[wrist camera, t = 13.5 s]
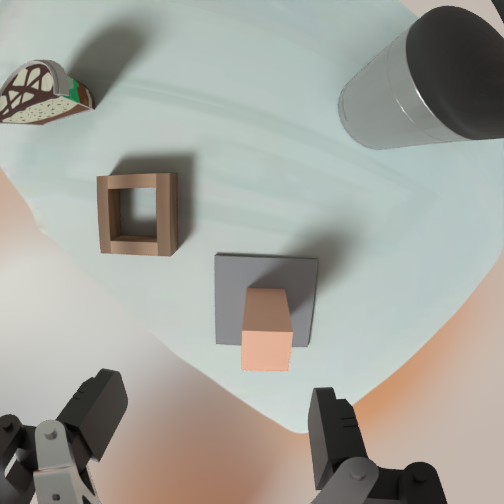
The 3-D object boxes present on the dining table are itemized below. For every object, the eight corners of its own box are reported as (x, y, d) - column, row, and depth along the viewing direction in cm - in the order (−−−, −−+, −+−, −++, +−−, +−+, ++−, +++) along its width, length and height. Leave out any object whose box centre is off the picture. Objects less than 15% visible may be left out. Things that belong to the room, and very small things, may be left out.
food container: (106, 64, 28) (64, 40, 19) (104, 107, 30) (57, 92, 20) (38, 89, 29) (-7, 78, 19) (36, 128, 30) (-13, 124, 21)
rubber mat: (317, 258, 34) (318, 260, 34) (307, 345, 38) (307, 347, 37) (215, 255, 35) (214, 255, 34) (216, 342, 38) (216, 343, 37)
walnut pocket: (177, 172, 32) (169, 173, 29) (177, 249, 35) (170, 256, 32) (108, 175, 32) (96, 176, 29) (111, 246, 35) (100, 253, 32)
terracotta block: (284, 289, 35) (292, 332, 25) (282, 322, 36) (288, 371, 27) (246, 287, 35) (242, 330, 26) (245, 321, 36) (241, 370, 27)
